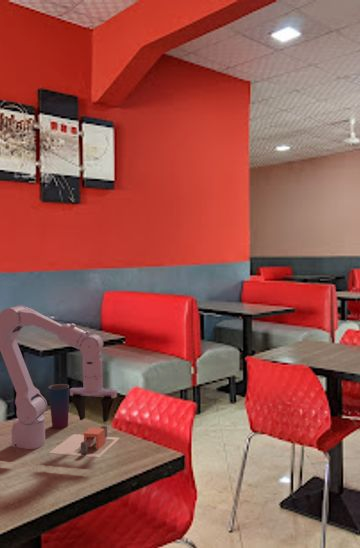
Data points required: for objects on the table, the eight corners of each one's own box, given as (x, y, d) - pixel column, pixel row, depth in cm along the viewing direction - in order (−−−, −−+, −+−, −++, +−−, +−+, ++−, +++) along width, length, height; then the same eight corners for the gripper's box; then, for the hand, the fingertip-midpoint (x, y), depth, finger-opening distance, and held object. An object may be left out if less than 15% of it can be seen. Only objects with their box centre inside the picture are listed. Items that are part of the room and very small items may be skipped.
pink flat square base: (48, 457, 155) (48, 440, 155) (73, 438, 171) (73, 423, 171) (99, 462, 151) (98, 445, 151) (120, 442, 167) (119, 426, 166)
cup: (54, 427, 183) (52, 383, 182) (73, 427, 182) (72, 384, 181) (46, 433, 176) (45, 389, 175) (66, 434, 175) (65, 389, 174)
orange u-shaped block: (84, 449, 158) (83, 433, 158) (91, 443, 163) (90, 427, 163) (98, 451, 157) (98, 434, 157) (105, 444, 162) (104, 428, 162)
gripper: (64, 377, 157) (65, 422, 158) (109, 379, 153) (111, 425, 154) (75, 371, 164) (76, 415, 165) (119, 373, 160) (120, 418, 161)
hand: (93, 419), depth 160 cm, fingers open, 7 cm apart
